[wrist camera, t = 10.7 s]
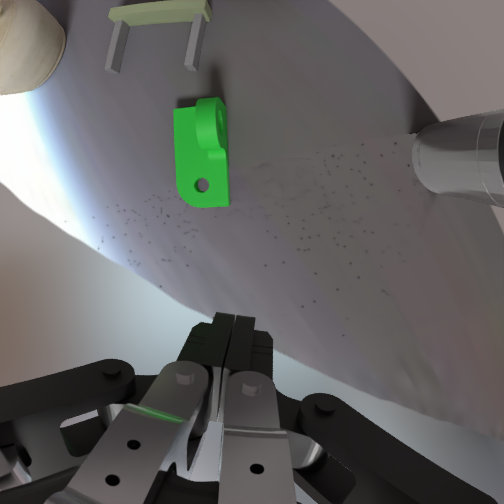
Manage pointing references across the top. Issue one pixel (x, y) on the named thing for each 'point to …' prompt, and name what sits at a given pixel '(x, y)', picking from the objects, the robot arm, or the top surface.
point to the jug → (27, 45)
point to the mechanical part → (202, 153)
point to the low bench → (176, 10)
